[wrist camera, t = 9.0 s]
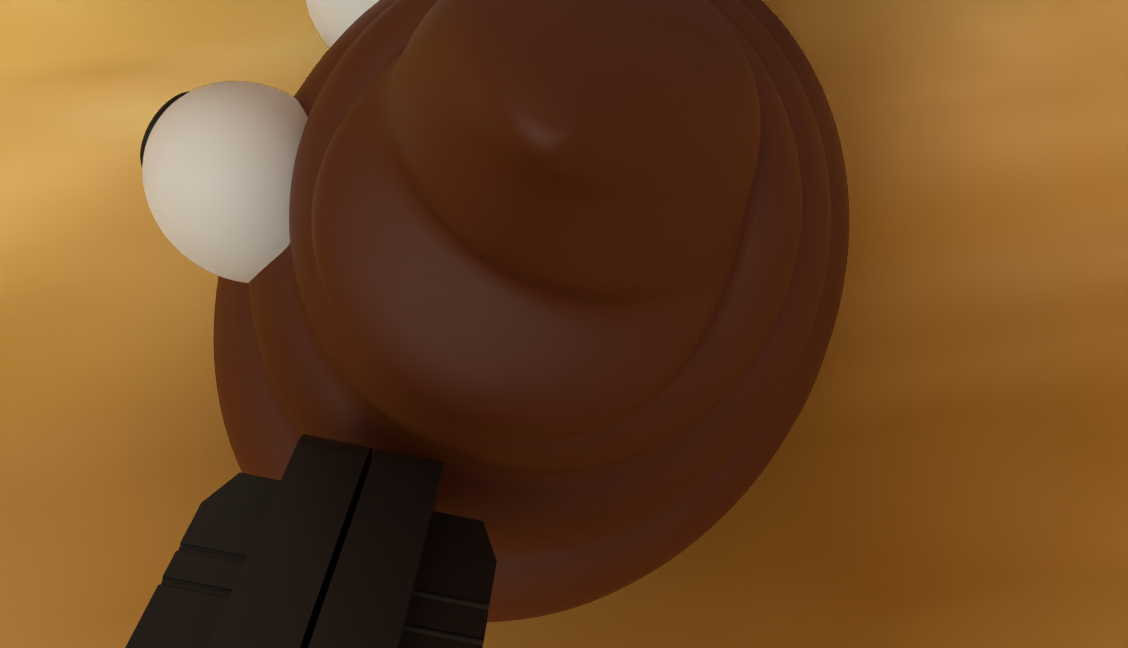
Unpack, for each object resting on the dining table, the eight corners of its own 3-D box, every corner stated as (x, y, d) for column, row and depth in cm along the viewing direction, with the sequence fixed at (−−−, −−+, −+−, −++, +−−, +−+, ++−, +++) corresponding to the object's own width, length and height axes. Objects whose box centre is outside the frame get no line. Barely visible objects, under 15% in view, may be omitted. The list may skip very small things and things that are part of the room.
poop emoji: (578, 731, 15) (750, 992, 6) (95, 410, 16) (-401, 223, 7) (898, 192, 18) (1362, -181, 9) (471, -81, 18) (484, -723, 9)
